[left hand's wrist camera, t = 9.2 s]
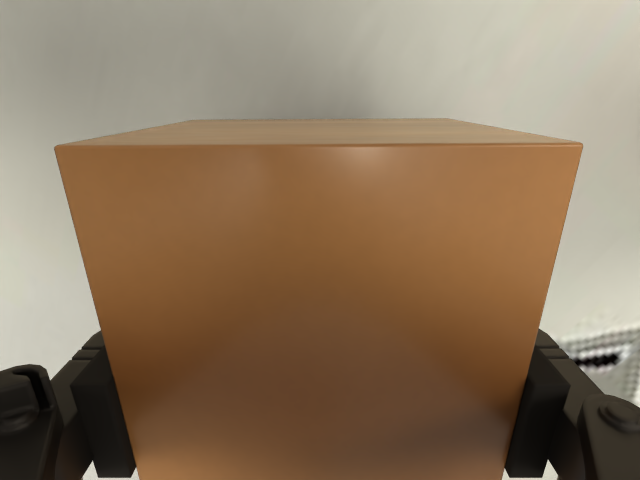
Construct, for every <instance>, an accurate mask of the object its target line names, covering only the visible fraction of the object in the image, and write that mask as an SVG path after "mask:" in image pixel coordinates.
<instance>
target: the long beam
mask: <svg viewBox="0 0 640 480" xmlns="http://www.w3.org/2000/svg"><path fill="white" fill-rule="evenodd" d="M582 149H583V144H582V143H580V142H575V141H569V140H563V139H558V138H552V137H547V136H541V135H536V134H530V133H525V132H519V131H513V130H508V129H502V128H497V127H491V126H486V125H480V124H475V123H469V122H463V121H458V120H452V119H447V118H436V119H258V120H190V121H184V122H179V123H174V124H168V125H163V126H158V127H152V128H147V129H142V130H136V131H131V132H125V133H120V134H115V135H109V136H104V137H99V138H93V139H88V140H83V141H77V142H72V143H67V144H61V145H57V146H55V148H54V150H55V154H56V158H57V162H58V165H59V169H60V173H61V177H62V181H63V185H64V189H65V193H66V196H67V200H68V204H69V208H70V212H71V216H72V220H73V224H74V227H75V231H76V235H77V239H78V243H79V247H80V251H81V254H82V258H83V262H84V266H85V270H86V274H87V278H88V282H89V285H90V289H91V293H92V297H93V301H94V305H95V309H96V313H97V316H98V320H99V324H100V328H101V332H102V336H103V340H104V343H105V347H106V351H107V355H108V359H109V363H110V367H111V371H112V374H113V378H114V382H115V386H116V390H117V394H118V398H119V401H120V405H121V409H122V413H123V417H124V421H125V425H126V429H127V432H128V436H129V440H130V444H131V448H132V452H133V456H134V460H135V463H136V467H137V471H138V475H139V479H140V480H502V476H503V472H504V468H505V464H506V460H507V455H508V451H509V447H510V443H511V439H512V435H513V431H514V427H515V423H516V419H517V415H518V410H519V406H520V402H521V398H522V394H523V390H524V386H525V382H526V378H527V374H528V370H529V365H530V361H531V357H532V353H533V349H534V345H535V341H536V337H537V333H538V329H539V324H540V320H541V316H542V312H543V308H544V304H545V300H546V296H547V292H548V288H549V284H550V279H551V275H552V271H553V267H554V263H555V259H556V255H557V251H558V247H559V243H560V239H561V234H562V230H563V226H564V222H565V218H566V214H567V210H568V206H569V202H570V198H571V194H572V189H573V185H574V181H575V177H576V173H577V169H578V165H579V161H580V157H581V153H582Z"/></svg>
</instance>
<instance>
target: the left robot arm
mask: <svg viewBox="0 0 640 480" xmlns="http://www.w3.org/2000/svg"><path fill="white" fill-rule="evenodd" d="M547 460H549V461H550V463H551V465H552V466H553V468H554V469H555V471H556V473H557V474H558V478H557V480H640V408H639V407H637V406H636V405H634V404H632V403H630V402H629V401H626V400H623V399H621V398H618V397H615V396H611V395H605V394H604V393H603V392H602V391H601V390H600V389H599V388H598V387H597V386H596V385H595V384H594V383H593V381H592V380H591V379H590V378H589V377H588V376H587V375H586V374H585V373H584V372H583V371H582V370H581V369H580V368H579V367H578V366H577V365H576V364H575V362H574V361H573V360H572V359H569V356H568V355H567V354H566V353H565V352H564V351H563V350H562V349H559V346H558V345H557V343H556V342H555V341H554V340H553V339H552V338H551V337H550V336H549V335H548V334H547V333H545V332H543V331H542V330H540V329H538V333H537V337H536V341H535V345H534V349H533V353H532V357H531V361H530V365H529V370H528V374H527V378H526V382H525V386H524V390H523V394H522V398H521V402H520V406H519V410H518V415H517V419H516V423H515V427H514V431H513V435H512V439H511V443H510V447H509V451H508V455H507V460H506V464H505V469H506V471H507V473H508V476H509V478H542V476H543V473H544V470H545V467H546V464H547ZM92 461H93V462H94V466H95V469H96V472H97V475H98V478H131V476H132V474H133V472H134V470H135V468H136V463H135V460H134V456H133V452H132V448H131V444H130V440H129V436H128V432H127V429H126V425H125V421H124V417H123V413H122V409H121V405H120V401H119V398H118V394H117V390H116V386H115V382H114V378H113V374H112V371H111V367H110V363H109V359H108V355H107V351H106V347H105V343H104V340H103V336H102V332H101V331H99V332H98V333H96V334H94V335H93V336H92V337H91V338H90V339H89V340H88V341H87V342H86V343H85V344H84V346H83V347H82V349H81V350H79V351H78V352H77V353H76V354H75V355H74V356H73V357H72V360H69V361H68V362H67V364H66V365H65V366H64V367H63V368H62V369H61V370H60V371H59V372H58V373H57V374H56V375H55V376H54V377H53V378H52V379H51V381H50V379H49V376H48V373H47V370H46V369H45V368H43V367H42V366H40V365H32V364H28V365H21V366H15V367H12V368H9V369H6V370H3V371H0V480H83V478H82V477H83V475H84V473H85V472H86V470H87V469H88V467H89V465H90V464H91V462H92Z"/></svg>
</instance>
